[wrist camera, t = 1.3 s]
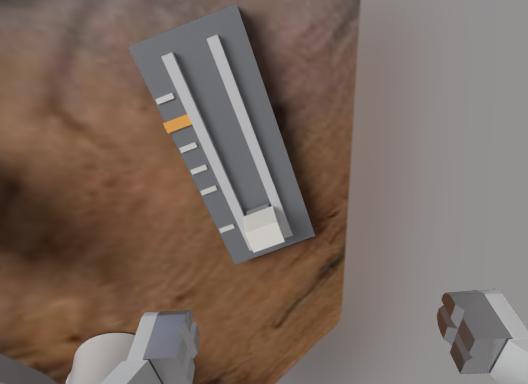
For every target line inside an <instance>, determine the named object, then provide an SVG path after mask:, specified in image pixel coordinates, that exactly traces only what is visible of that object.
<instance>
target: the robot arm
mask: <svg viewBox="0 0 528 384" xmlns="http://www.w3.org/2000/svg"><path fill="white" fill-rule="evenodd" d="M442 302H443V304H444V305H443V306H442V307H441V308H439V310H438V314H437V320H438V326H439V329H440V332H441V334H442V336H443V338H444V339H445V340H446V341H447V342H448V343H450V344H451V345H452V347H451V351H450V354H451V356H452V357H453V360H454V362H455V364H456V366H457V368H458V370H459V372H460V374H473V373H474V374H477V373H490V376H491V377H493V378H494V379H495V380H496V381H497V382H498V383H499V384H528V330H527V328H526V327H525V326H524V324H523V323H522V321H521V320H520V319H519V317H518V316H517V315H516V313H515V312H514V310H513V309H512V307H511V306H510V305H509V303H508V302H507V301H506V299H505V298H504V296H503V295H502V294H501V292H499V291H498V290H496V289H492V290H481V291H478V290H473V291H460V292H448V293H445V294H444V295H443V297H442ZM192 321H193V314H192V311H191V310H181V311H158V312H145V313H144V315H143V316H142V318H141V321H140V323H139V326H138V329H137V332H136V335H132V334H127V333H108V334H103V335H99V336H96V337H93V338H91V339H89V340H87V341H86V342H84V343H83V344H82V345H81V346H80V347H79V348H78V350H77V351H76V353H75V356H74V361H73V367H72V371H71V372H70V373H69V375H68V377H67V380H66V384H192V382H193V377H194V371H195V365H194V362H193V360H192V359H193V358H194V357H195V355H196V354H197V353H198V347H199V331H198V327H197V324H196V323H194V322H192Z"/></svg>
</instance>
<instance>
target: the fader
mask: <svg viewBox="0 0 528 384" xmlns="http://www.w3.org/2000/svg"><path fill="white" fill-rule="evenodd" d="M246 214H247V215H246V216H244V217H243V222H244V231H245V235H246V237H247V239H248V242H249V244H250V246H251V248H252V250H253V253H255V252H258V251H260V250H263V249H266V248H269V247H271V246H274V245H277V244H280V243H283V242H285V241H284V237H283V234H282V231H281V227H280V224H279V221H278V219H277V216H276V214H275V211H274V209H273V206H271V207H269V205H268V204H265V205H262V206H259V207H257V208H254V209H251V210H248V211H246Z"/></svg>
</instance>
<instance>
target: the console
mask: <svg viewBox="0 0 528 384" xmlns="http://www.w3.org/2000/svg"><path fill="white" fill-rule="evenodd" d="M128 48H129V50H130V52H131V54H132V56H133V58H134V60H135V62H136V64H137V66H138V68H139V70H140V72H141V74H142V77H143V79H144V81H145V83H146V85H147V87H148V89H149V91H150V93H151V95H152V97H153V99H154V101H155V103H156V105H157V107H158V109H159V111H160V113H161V115H162V117H163V119H164V121H165V123H163V125H164V127H165V129H166V131H167V133H171V135H172V137H173V139H174V142H175V144H176V146H177V148H178V150H179V152H180V154H181V156H182V158H183V160H184V162H185V164H186V166H187V168H188V170H189V172H190V174H191V176H192V178H193V180H194V182H195V184H196V186H197V188H198V190H199V192H200V194H201V196H202V198H203V200H204V202H205V204H206V207H207V209H208V211H209V213H210V215H211V217H212V219H213V221H214V223H215V225H216V227H217V229H218V231H219V233H220V235H221V237H222V239H223V241H224V243H225V245H226V247H227V249H228V251H229V253H230V255H231V257H232V259H233V261H234V263H235V264H238V263H241V262H244V261H247V260H249V259H252V258H255V257H258V256H260V255H263V254H266V253H269V252H272V251H274V250H277V249H280V248H283V247H286V246H288V245H291V244H294V243H297V242H299V241H302V240H305V239H308V238H311V237H313V236H315V234H314V231H313V228H312V225H311V222H310V219H309V216H308V213H307V210H306V207H305V204H304V201H303V198H302V195H301V192H300V189H299V186H298V183H297V180H296V178H295V175H294V172H293V169H292V166H291V163H290V160H289V157H288V154H287V151H286V148H285V145H284V142H283V139H282V136H281V133H280V130H279V127H278V125H277V122H276V119H275V116H274V113H273V110H272V107H271V104H270V101H269V98H268V95H267V92H266V89H265V86H264V83H263V80H262V77H261V74H260V72H259V69H258V66H257V63H256V60H255V57H254V54H253V51H252V48H251V45H250V42H249V39H248V36H247V33H246V30H245V27H244V24H243V21H242V18H241V16H240V13H239V10H238V7H237V4H234V5H231V6H229V7H226V8H224V9H221V10H219V11H216V12H214V13H211V14H209V15H206V16H204V17H201V18H199V19H196V20H194V21H191V22H189V23H186V24H184V25H181V26H179V27H176V28H174V29H171V30H169V31H166V32H164V33H161V34H159V35H156V36H154V37H151V38H149V39H146V40H144V41H141V42H139V43H136V44H134V45H131V46H129V47H128ZM265 204H268V205H269V207H271V206H273V209H274V211H275V214H276V216H277V219H278V221H279V224H280V227H281V231H282V234H283V237H284V241H285V242H283V243H280V244H277V245H274V246H271V247H269V248H266V249H263V250H260V251H258V252H255V253H253V250H252V248H251V246H250V244H249V242H248V239H247V237H246V235H245V231H244V222H243V217H244V216H246V215H247V214H246V211H248V210H251V209H254V208H257V207H259V206H262V205H265Z"/></svg>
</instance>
